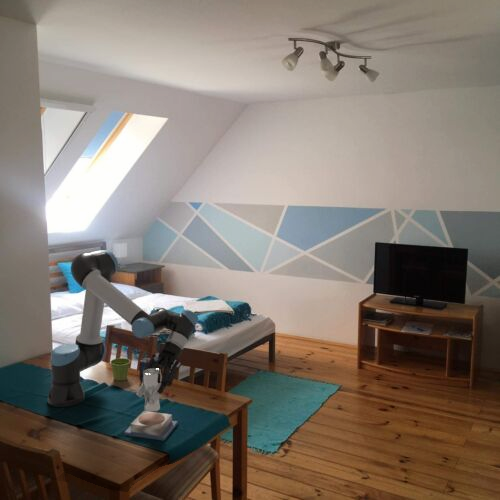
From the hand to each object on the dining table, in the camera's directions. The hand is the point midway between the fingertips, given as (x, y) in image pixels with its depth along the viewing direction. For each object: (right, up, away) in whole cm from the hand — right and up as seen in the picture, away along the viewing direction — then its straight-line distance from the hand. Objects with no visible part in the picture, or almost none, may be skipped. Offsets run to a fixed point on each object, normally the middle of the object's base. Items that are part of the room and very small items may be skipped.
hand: (145, 398), depth 206 cm
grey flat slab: (+1, -13, +5) cm, 14 cm away
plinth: (+1, -12, +5) cm, 13 cm away
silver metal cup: (+2, -5, +4) cm, 7 cm away
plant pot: (-23, -6, +55) cm, 60 cm away
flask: (-9, -6, +55) cm, 56 cm away
